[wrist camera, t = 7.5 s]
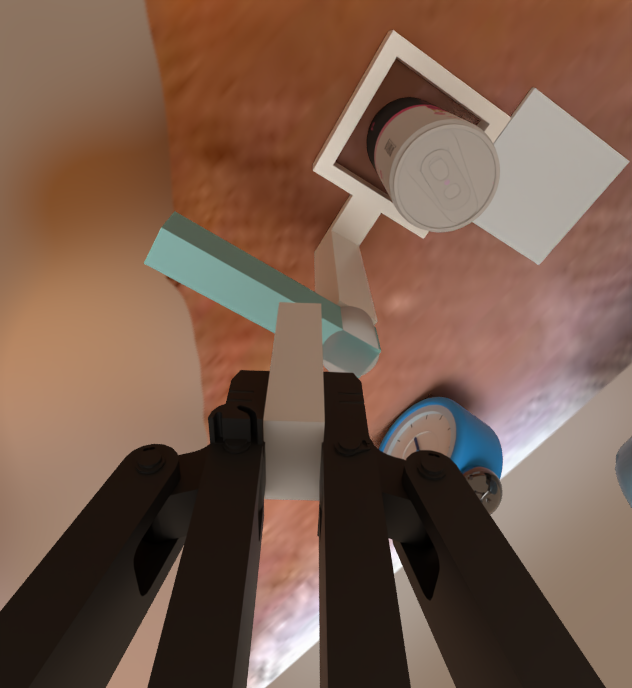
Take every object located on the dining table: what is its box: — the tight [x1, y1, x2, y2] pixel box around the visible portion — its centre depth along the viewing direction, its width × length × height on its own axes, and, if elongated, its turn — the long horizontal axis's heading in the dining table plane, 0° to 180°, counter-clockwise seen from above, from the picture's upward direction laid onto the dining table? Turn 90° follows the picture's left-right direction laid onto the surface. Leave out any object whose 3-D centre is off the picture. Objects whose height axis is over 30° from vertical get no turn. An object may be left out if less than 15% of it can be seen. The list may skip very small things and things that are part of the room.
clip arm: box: [144, 211, 381, 378], centre depth 30 cm, size 4×15×3 cm, turn 58°
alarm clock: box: [379, 394, 503, 515], centre depth 52 cm, size 13×6×15 cm, turn 141°
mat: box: [473, 87, 630, 265], centre depth 44 cm, size 11×11×1 cm
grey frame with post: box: [313, 30, 511, 325], centre depth 37 cm, size 11×18×16 cm, turn 149°
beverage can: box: [367, 97, 500, 232], centre depth 36 cm, size 7×6×15 cm
